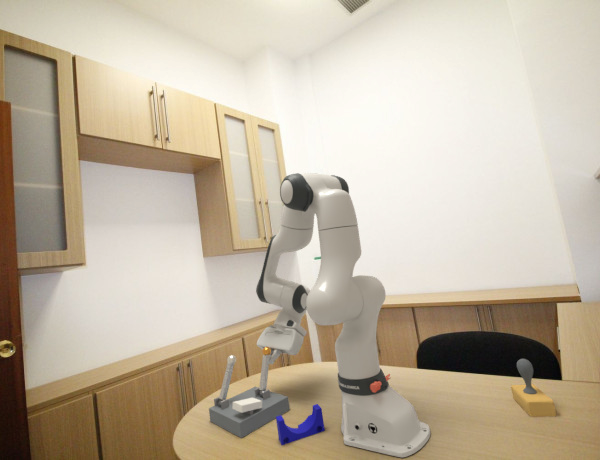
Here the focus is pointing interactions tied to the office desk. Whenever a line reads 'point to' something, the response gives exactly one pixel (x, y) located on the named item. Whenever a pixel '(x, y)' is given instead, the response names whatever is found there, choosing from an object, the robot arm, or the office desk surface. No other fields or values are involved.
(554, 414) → the rubber stamp
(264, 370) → the lever orange
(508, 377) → the office desk surface
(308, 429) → the cable clip
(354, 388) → the robot arm
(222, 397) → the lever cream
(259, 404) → the white rectangular block
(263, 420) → the panel
